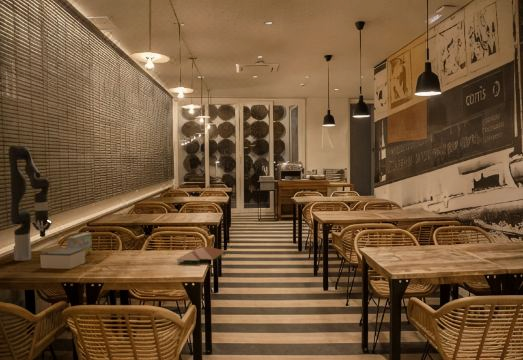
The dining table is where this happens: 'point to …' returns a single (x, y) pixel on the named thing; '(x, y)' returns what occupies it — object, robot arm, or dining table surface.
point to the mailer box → (63, 260)
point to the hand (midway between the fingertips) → (42, 236)
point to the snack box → (81, 242)
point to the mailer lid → (60, 250)
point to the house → (202, 255)
